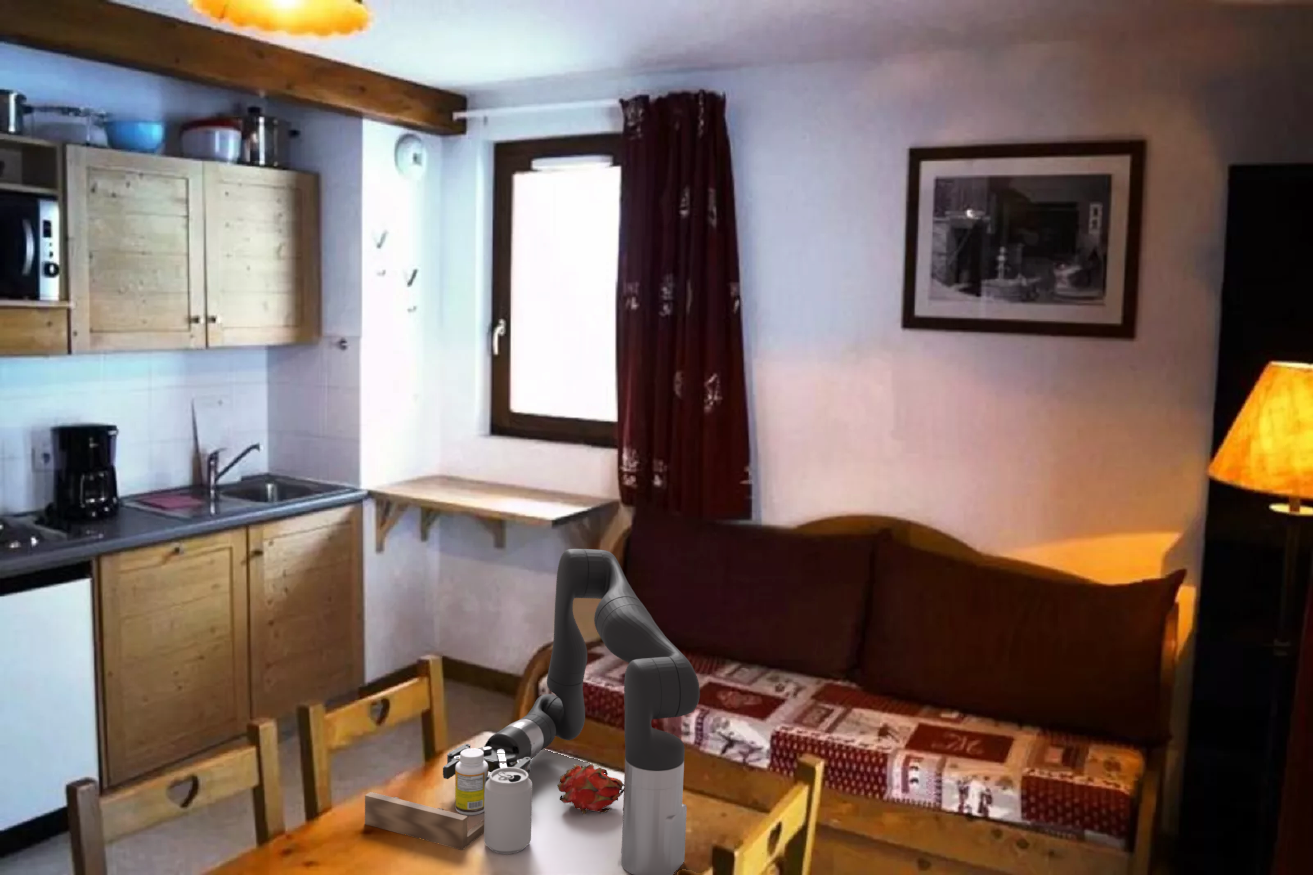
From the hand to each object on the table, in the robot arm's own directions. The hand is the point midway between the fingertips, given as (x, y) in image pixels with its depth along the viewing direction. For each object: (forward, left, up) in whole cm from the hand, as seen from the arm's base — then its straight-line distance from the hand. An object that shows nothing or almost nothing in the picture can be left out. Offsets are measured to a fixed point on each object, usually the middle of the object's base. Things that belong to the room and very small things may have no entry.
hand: (466, 778), depth 187 cm
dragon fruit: (-18, -12, -7) cm, 22 cm away
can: (-12, +6, -6) cm, 15 cm away
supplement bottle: (0, -2, -6) cm, 7 cm away
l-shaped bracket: (+3, +6, -6) cm, 9 cm away
